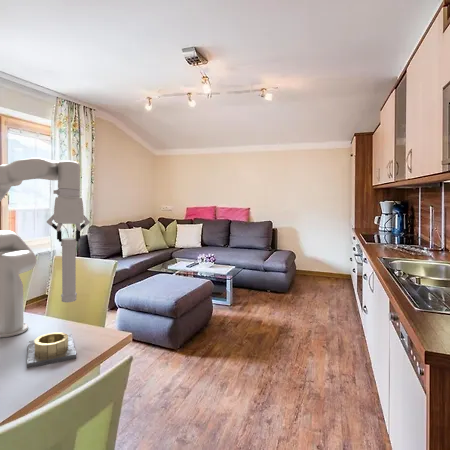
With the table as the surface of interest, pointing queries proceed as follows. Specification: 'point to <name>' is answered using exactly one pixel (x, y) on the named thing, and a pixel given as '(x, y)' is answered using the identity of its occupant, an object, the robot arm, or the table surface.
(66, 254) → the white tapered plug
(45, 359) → the fitting base
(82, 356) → the table surface
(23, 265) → the robot arm
